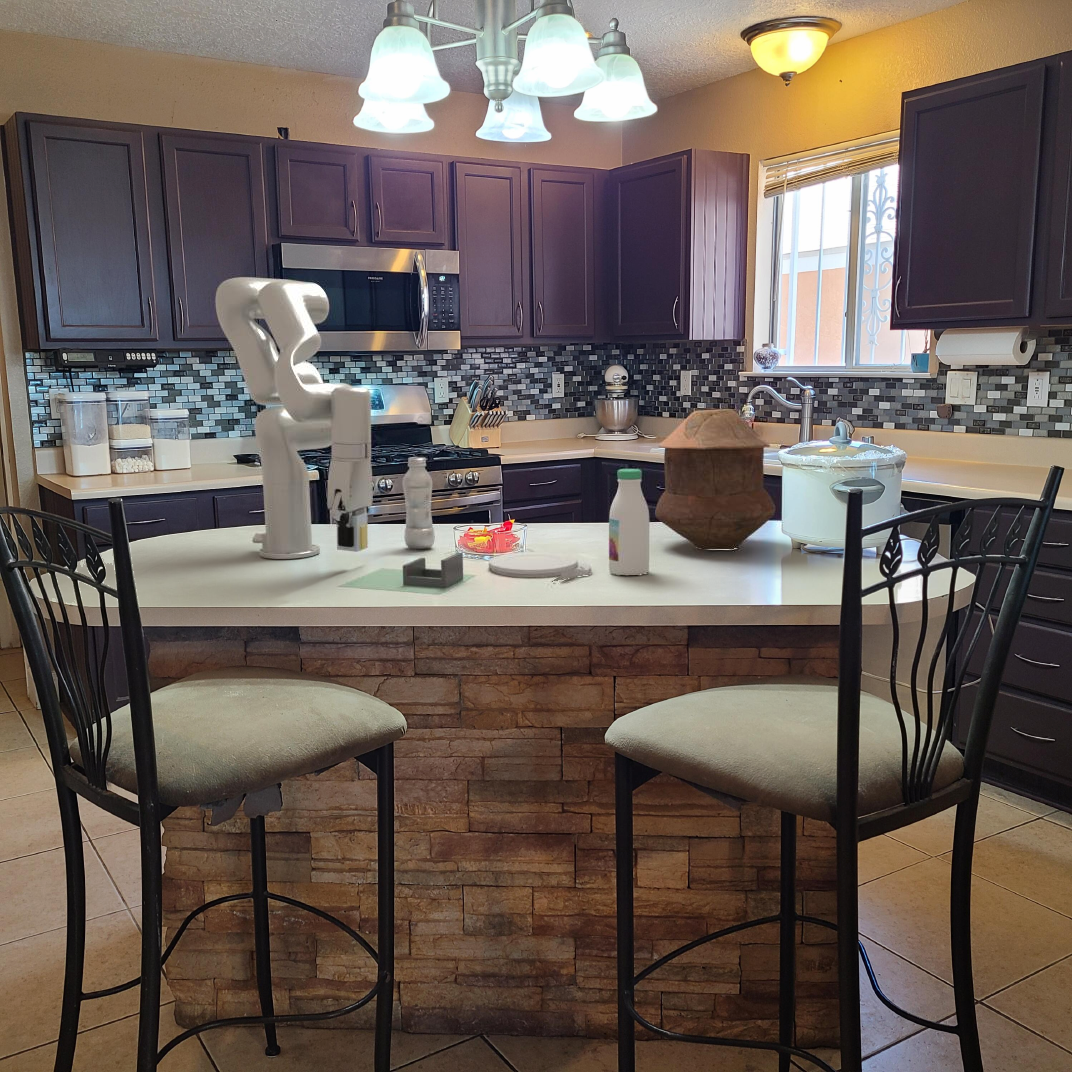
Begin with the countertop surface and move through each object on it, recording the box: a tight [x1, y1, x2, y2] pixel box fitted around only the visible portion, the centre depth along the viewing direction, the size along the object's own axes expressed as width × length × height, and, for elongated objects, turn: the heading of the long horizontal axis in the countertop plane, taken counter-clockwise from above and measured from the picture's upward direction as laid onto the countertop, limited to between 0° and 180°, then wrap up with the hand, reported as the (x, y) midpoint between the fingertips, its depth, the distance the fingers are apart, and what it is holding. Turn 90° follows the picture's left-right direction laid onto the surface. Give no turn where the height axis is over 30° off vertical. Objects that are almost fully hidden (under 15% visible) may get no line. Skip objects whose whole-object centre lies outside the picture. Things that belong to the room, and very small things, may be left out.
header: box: [402, 552, 464, 588], centre depth 179 cm, size 8×7×5 cm
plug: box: [336, 507, 369, 553], centre depth 194 cm, size 5×4×8 cm
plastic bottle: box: [401, 456, 436, 550], centre depth 216 cm, size 6×7×20 cm
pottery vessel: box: [654, 408, 776, 550], centre depth 213 cm, size 26×26×30 cm
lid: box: [488, 551, 592, 583], centre depth 191 cm, size 17×20×3 cm
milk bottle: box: [608, 468, 650, 576], centre depth 190 cm, size 8×8×20 cm
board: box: [337, 568, 477, 595], centre depth 181 cm, size 20×16×1 cm
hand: (352, 543), depth 195 cm, fingers closed on plug, 4 cm apart
